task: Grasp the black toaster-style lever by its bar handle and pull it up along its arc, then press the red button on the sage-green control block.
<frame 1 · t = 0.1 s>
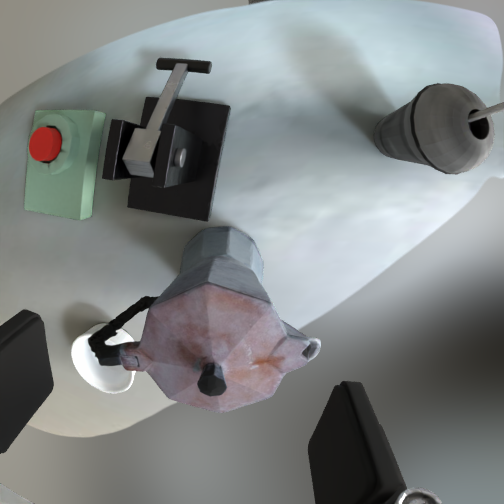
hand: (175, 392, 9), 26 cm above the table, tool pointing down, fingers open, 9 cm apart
ramekin: (113, 347, 38), on the table
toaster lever: (164, 107, 23), point 8 cm above the table, hinge at -30.0°
beverage cup: (391, 137, 30), on the table
stop button: (45, 144, 26), point 5 cm above the table, slide at 0.1 cm
control block: (67, 162, 31), on the table
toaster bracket: (178, 157, 31), on the table
moka pot: (219, 267, 34), on the table
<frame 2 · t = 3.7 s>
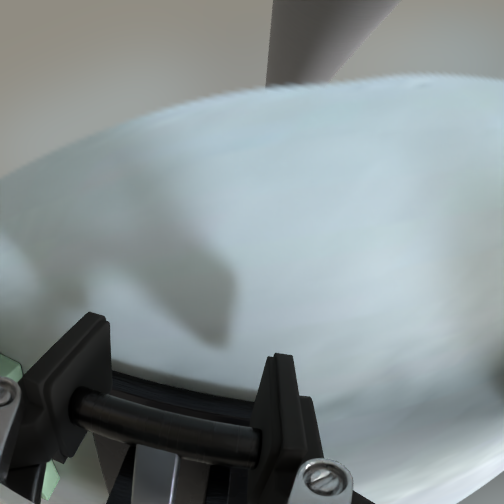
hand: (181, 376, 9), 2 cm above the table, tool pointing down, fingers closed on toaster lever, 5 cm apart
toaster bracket: (181, 464, 14), on the table
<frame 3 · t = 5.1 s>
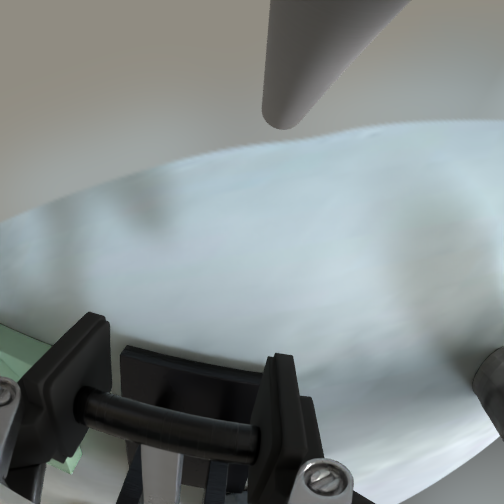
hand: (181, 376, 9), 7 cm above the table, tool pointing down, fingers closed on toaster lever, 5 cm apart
beverage cup: (492, 370, 18), on the table
control block: (27, 391, 19), on the table
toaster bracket: (191, 429, 19), on the table
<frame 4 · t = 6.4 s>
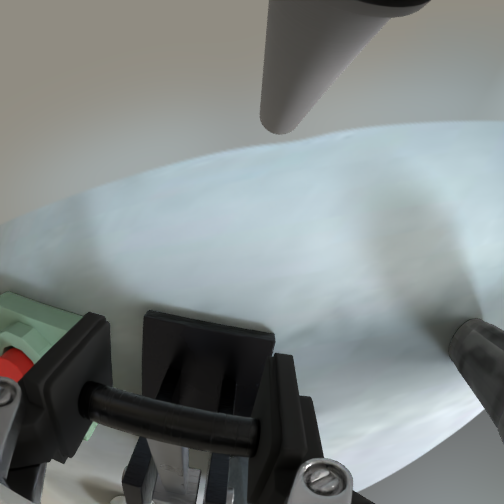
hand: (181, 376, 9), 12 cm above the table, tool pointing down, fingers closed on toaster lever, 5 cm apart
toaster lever: (174, 470, 10), point 12 cm above the table, hinge at 20.5°, touching gripper
beverage cup: (467, 340, 22), on the table
stop button: (17, 373, 17), point 5 cm above the table, slide at 0.1 cm
control block: (50, 362, 23), on the table
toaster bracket: (201, 388, 23), on the table
moka pot: (254, 474, 26), on the table
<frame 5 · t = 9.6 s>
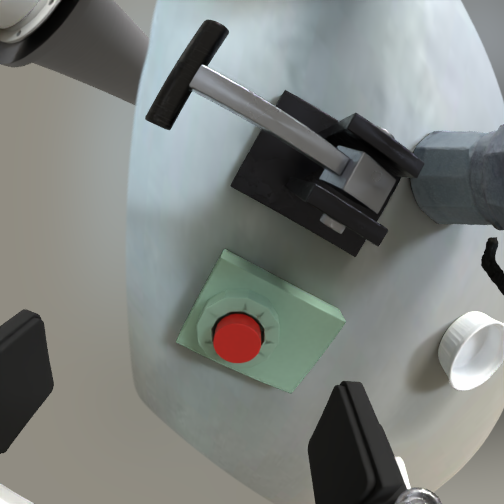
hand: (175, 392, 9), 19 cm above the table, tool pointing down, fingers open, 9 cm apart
ramekin: (462, 339, 30), on the table
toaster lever: (291, 132, 14), point 12 cm above the table, hinge at 21.0°
pepper shaker: (386, 465, 36), on the table
stop button: (237, 338, 24), point 5 cm above the table, slide at 0.1 cm
control block: (259, 320, 29), on the table
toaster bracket: (320, 174, 25), on the table
moka pot: (445, 180, 25), on the table
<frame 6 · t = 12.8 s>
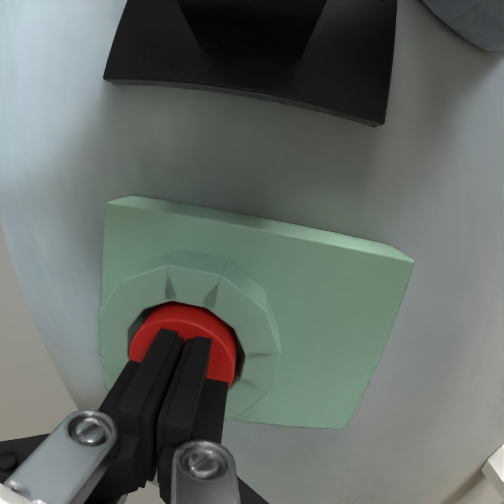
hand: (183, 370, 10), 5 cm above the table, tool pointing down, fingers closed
pepper shaker: (499, 454, 20), on the table
stop button: (184, 353, 11), point 4 cm above the table, slide at -0.6 cm, touching gripper
control block: (244, 312, 15), on the table
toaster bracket: (259, 10, 11), on the table
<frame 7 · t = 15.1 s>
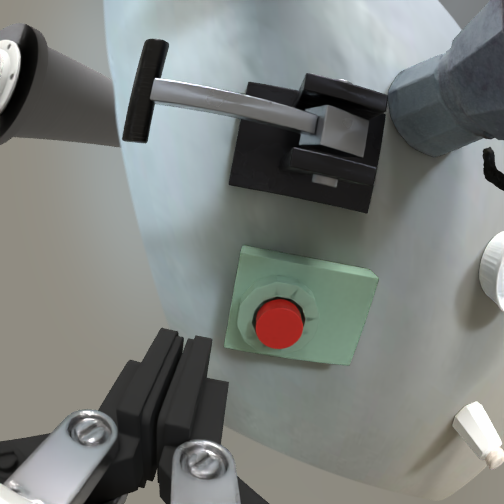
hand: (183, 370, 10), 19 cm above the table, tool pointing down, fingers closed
ramekin: (500, 263, 27), on the table
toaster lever: (255, 110, 14), point 12 cm above the table, hinge at 21.0°
pepper shaker: (466, 414, 33), on the table
stop button: (279, 324, 24), point 5 cm above the table, slide at 0.1 cm
control block: (297, 303, 29), on the table
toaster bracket: (308, 146, 26), on the table
moka pot: (428, 114, 24), on the table
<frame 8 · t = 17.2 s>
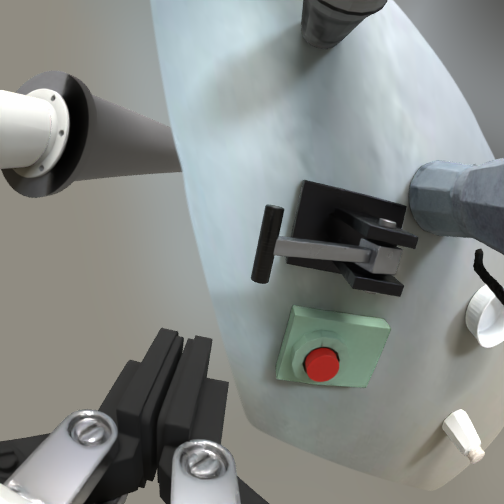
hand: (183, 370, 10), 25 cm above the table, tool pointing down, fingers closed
ramekin: (483, 307, 36), on the table
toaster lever: (334, 251, 22), point 12 cm above the table, hinge at 21.0°
beverage cup: (320, 32, 28), on the table
pepper shaker: (453, 418, 42), on the table
stop button: (322, 364, 33), point 5 cm above the table, slide at 0.1 cm
control block: (330, 344, 37), on the table
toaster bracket: (346, 231, 34), on the table
moka pot: (438, 200, 33), on the table
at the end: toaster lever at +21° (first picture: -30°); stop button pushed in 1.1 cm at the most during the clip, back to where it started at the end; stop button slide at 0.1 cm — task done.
